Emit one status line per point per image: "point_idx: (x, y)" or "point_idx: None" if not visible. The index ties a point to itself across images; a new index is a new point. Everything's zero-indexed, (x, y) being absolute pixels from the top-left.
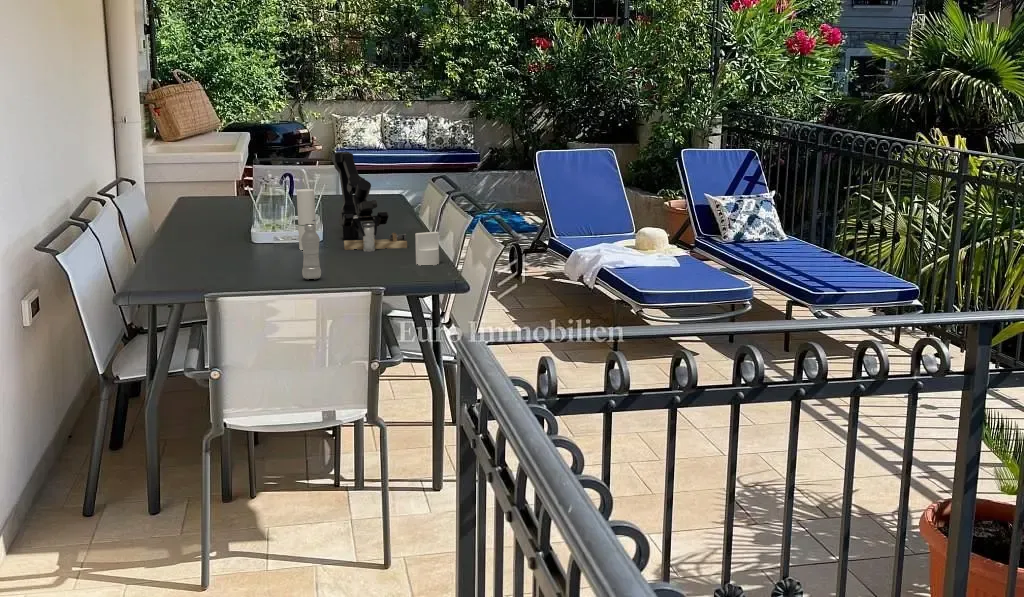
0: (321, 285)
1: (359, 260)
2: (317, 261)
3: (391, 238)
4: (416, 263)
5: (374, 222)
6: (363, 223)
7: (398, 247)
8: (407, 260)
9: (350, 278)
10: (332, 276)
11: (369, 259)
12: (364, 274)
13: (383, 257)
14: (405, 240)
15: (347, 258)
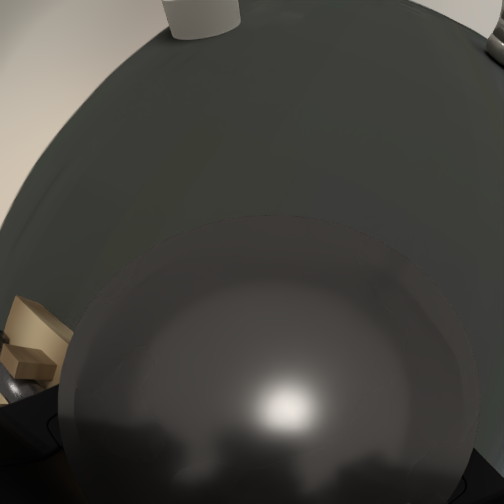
0: (471, 33)
1: (418, 123)
2: (496, 25)
3: (42, 389)
4: (239, 21)
5: (48, 451)
6: (439, 451)
7: (66, 328)
8: (229, 54)
9: (432, 25)
10: (469, 50)
11: (372, 115)
12: (405, 23)
13: (291, 117)
14: (4, 333)
15: (466, 190)
